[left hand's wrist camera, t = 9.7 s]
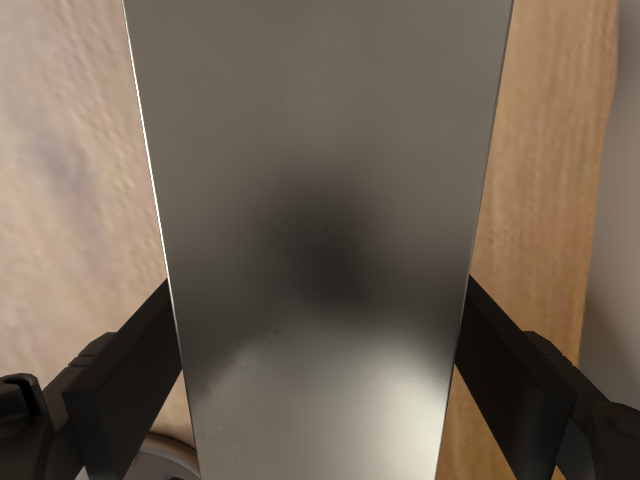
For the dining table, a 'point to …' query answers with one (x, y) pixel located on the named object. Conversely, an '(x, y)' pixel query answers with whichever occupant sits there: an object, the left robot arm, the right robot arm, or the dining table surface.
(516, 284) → the dining table surface
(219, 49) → the bar
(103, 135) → the dining table surface
